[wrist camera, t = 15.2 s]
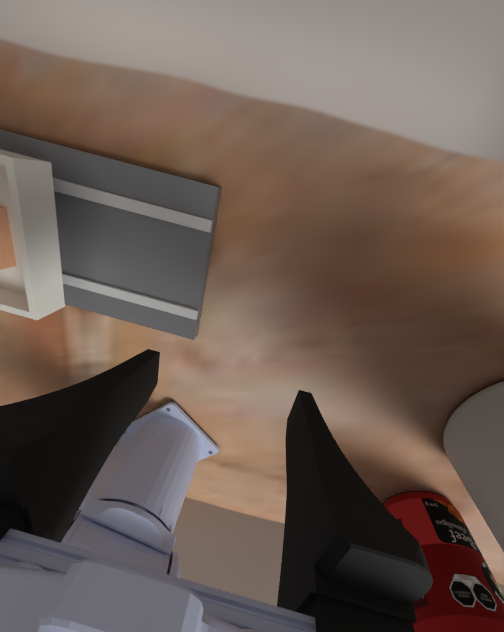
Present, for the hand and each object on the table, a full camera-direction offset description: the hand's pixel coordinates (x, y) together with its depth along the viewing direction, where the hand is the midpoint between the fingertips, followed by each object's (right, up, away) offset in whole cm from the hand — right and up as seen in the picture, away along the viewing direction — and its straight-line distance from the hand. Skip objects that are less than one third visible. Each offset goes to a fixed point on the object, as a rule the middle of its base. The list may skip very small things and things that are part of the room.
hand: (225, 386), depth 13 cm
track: (-13, +10, +8) cm, 18 cm away
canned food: (+20, -18, +16) cm, 31 cm away
